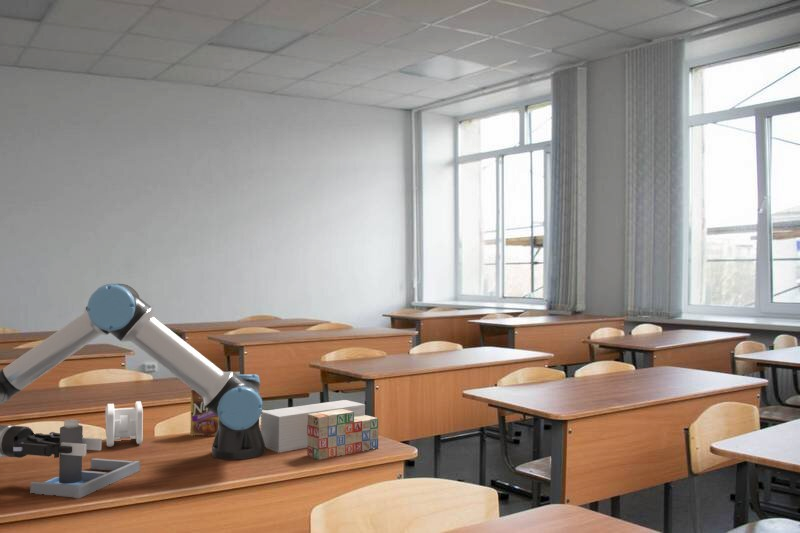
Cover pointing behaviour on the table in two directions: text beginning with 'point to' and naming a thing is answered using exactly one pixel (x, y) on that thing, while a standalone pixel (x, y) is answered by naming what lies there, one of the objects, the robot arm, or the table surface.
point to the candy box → (202, 417)
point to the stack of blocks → (340, 433)
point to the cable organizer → (124, 423)
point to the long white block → (297, 423)
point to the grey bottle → (70, 463)
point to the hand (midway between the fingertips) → (92, 447)
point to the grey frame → (88, 479)
